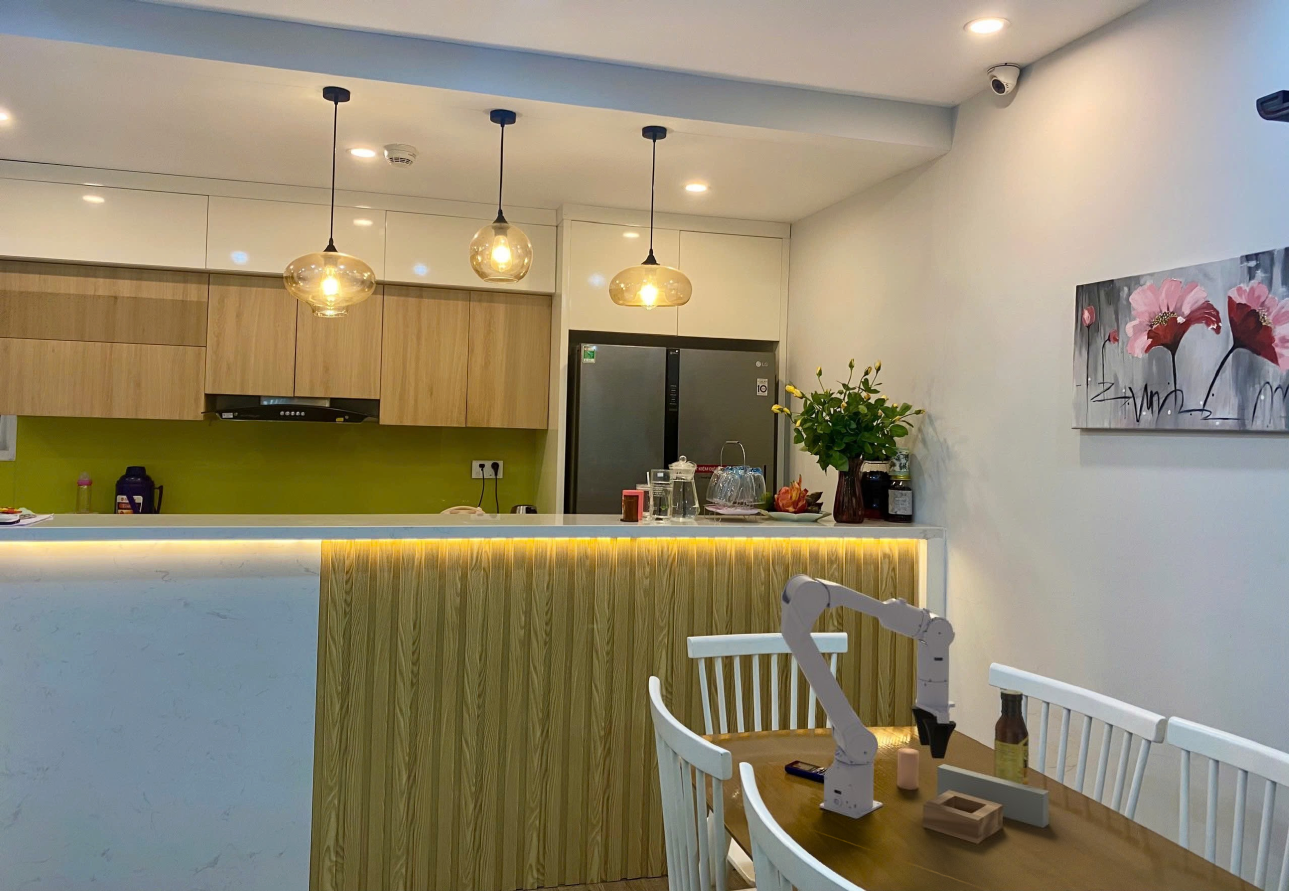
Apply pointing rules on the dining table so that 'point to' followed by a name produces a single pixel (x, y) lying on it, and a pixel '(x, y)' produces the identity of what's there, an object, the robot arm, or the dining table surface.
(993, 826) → the socket block
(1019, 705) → the sauce bottle
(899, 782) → the dowel
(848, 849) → the dining table surface
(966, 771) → the backstop
